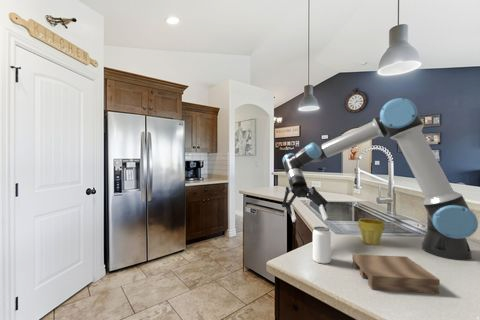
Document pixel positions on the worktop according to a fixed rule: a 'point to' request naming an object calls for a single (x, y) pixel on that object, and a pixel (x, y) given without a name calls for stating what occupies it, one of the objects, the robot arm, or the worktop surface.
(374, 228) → the plant pot
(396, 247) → the worktop surface
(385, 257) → the platform
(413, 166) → the robot arm
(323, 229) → the can
